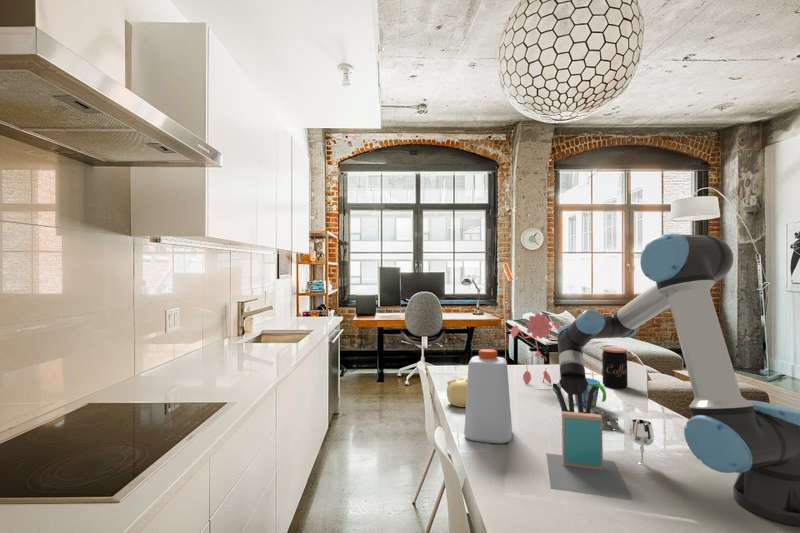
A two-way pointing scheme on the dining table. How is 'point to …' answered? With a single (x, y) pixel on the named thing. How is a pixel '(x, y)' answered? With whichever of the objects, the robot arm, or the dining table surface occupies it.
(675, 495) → the dining table surface
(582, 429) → the peach rectangular block
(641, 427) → the wineglass
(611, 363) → the coffee jar
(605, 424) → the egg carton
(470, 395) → the plastic bottle
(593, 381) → the snack cup
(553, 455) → the mat
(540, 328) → the pink flower
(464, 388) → the sculpture
